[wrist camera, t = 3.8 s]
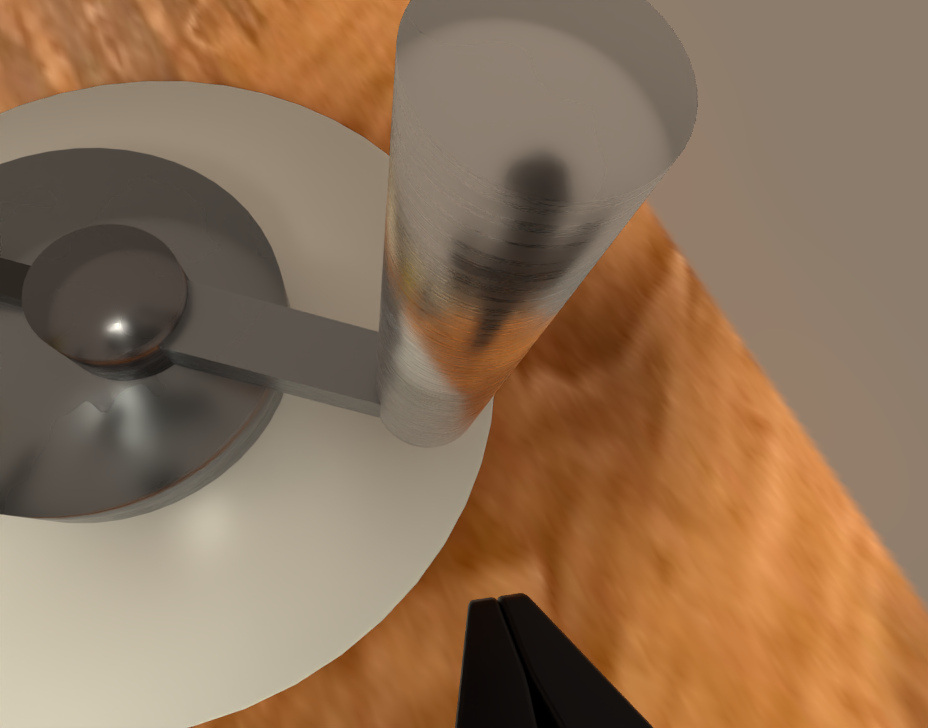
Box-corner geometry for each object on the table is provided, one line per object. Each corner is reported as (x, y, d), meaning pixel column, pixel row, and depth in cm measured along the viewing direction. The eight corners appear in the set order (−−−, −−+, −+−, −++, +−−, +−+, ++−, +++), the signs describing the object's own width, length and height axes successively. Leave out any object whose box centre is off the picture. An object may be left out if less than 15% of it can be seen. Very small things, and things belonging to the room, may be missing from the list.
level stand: (603, 405, 19) (667, 362, 15) (50, 930, 13) (-92, 1097, 9) (251, 28, 21) (225, -95, 17) (-350, 320, 15) (-602, 236, 11)
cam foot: (484, 420, 16) (754, 100, 5) (131, 728, 13) (-1573, 1945, 2) (200, 102, 18) (-73, -664, 7) (-177, 297, 15) (-2017, -606, 3)
